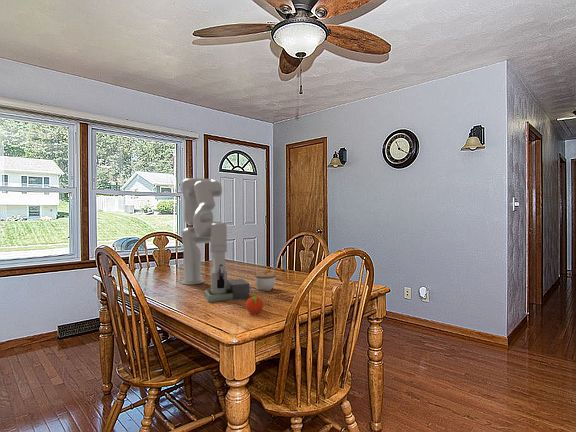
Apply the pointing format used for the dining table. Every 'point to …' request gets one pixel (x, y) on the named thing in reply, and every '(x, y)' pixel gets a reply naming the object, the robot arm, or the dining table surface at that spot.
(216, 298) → the frame
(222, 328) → the dining table surface
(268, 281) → the lidded jar
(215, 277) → the can
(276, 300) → the dining table surface
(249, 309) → the tomato
